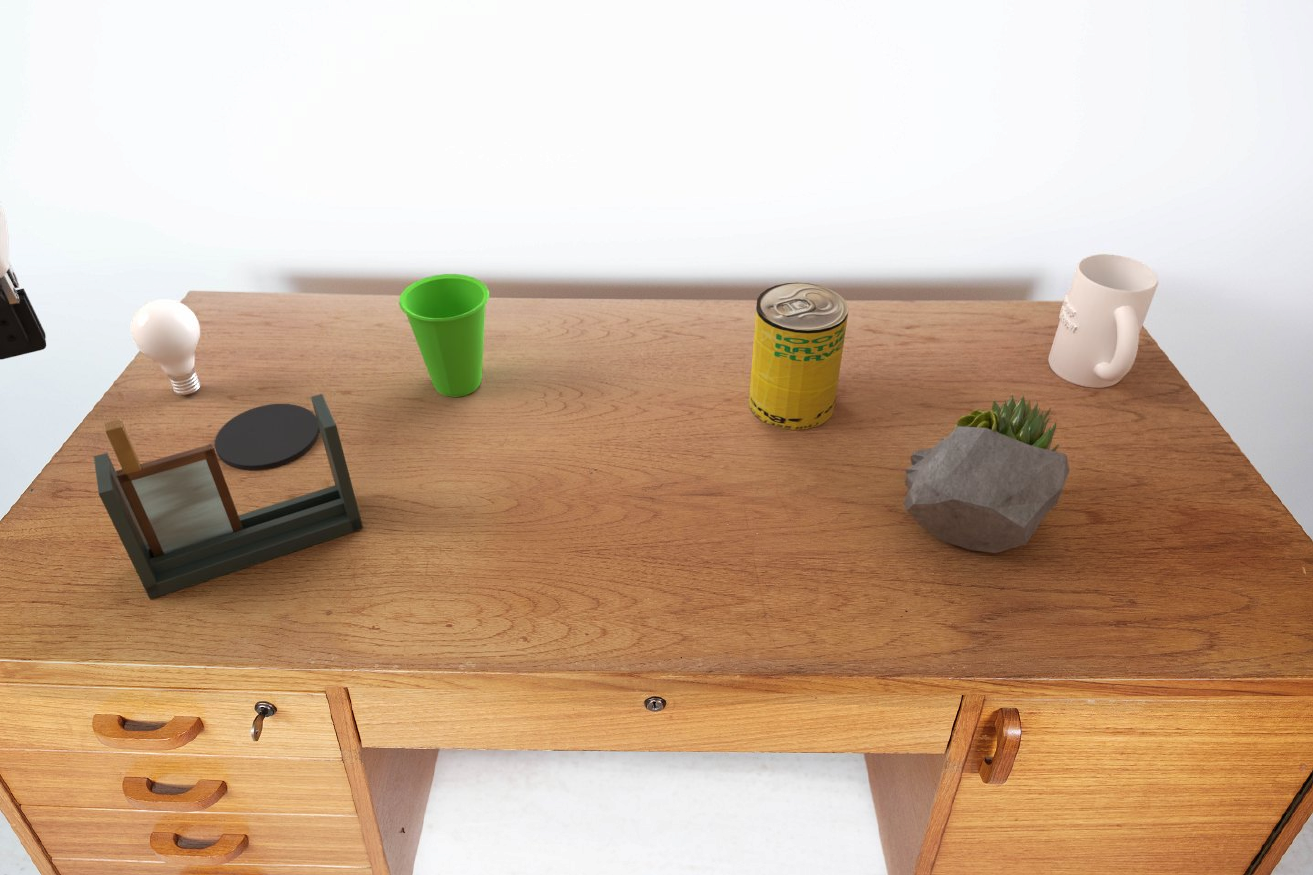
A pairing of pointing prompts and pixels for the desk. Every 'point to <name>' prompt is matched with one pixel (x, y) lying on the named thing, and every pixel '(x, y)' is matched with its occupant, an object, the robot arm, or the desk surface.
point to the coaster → (267, 436)
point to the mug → (1102, 320)
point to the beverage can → (797, 354)
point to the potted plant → (988, 479)
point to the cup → (449, 329)
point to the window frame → (262, 528)
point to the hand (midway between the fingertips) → (21, 348)
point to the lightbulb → (169, 340)
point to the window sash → (174, 494)
